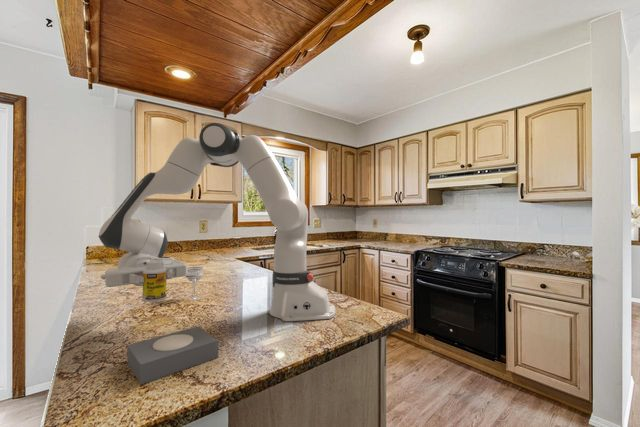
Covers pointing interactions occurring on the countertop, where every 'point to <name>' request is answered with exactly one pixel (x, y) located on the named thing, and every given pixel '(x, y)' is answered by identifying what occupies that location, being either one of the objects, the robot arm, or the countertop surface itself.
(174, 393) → the countertop surface
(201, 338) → the block
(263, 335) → the countertop surface
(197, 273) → the wineglass
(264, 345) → the countertop surface
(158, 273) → the supplement bottle
